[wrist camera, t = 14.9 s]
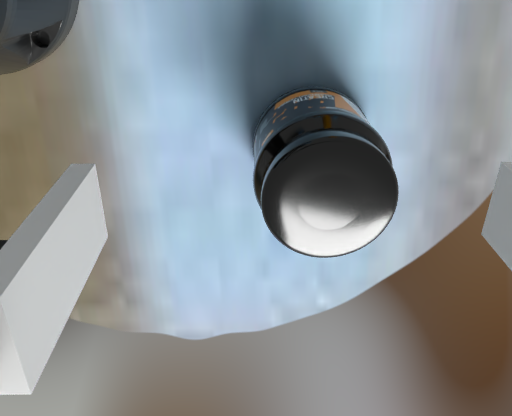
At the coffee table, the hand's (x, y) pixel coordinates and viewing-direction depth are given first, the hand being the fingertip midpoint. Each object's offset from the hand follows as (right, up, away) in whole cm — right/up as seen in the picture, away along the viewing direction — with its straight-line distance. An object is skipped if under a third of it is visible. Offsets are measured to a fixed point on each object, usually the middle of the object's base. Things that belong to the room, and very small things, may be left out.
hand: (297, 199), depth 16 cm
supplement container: (+4, +6, +28) cm, 28 cm away
